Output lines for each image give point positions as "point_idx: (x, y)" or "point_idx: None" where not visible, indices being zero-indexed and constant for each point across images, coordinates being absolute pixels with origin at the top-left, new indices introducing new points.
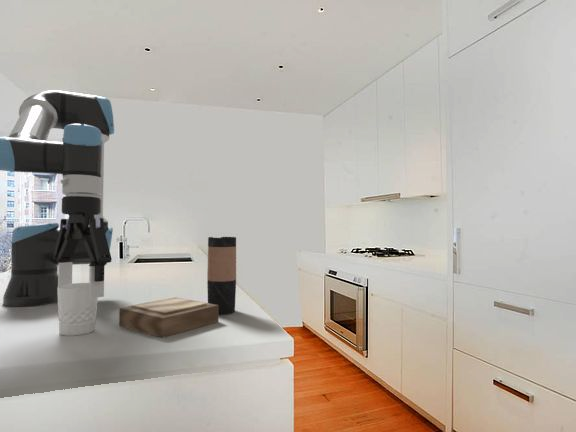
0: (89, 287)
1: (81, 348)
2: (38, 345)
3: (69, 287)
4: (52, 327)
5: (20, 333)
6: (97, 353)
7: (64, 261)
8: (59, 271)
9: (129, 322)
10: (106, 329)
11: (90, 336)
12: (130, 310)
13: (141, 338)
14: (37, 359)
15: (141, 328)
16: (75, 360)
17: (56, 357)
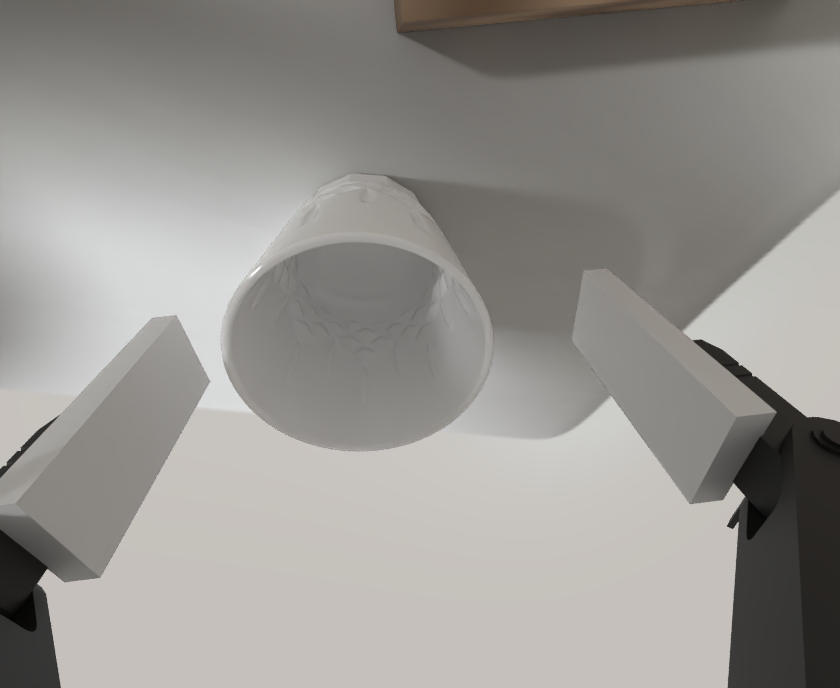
0: (603, 378)
1: None
2: None
3: (248, 366)
4: (222, 290)
5: None
6: (668, 288)
7: (22, 562)
8: (139, 498)
9: (512, 19)
10: (426, 132)
11: (479, 233)
12: (548, 7)
13: (696, 87)
14: (563, 396)
15: (624, 9)
16: None
17: None
